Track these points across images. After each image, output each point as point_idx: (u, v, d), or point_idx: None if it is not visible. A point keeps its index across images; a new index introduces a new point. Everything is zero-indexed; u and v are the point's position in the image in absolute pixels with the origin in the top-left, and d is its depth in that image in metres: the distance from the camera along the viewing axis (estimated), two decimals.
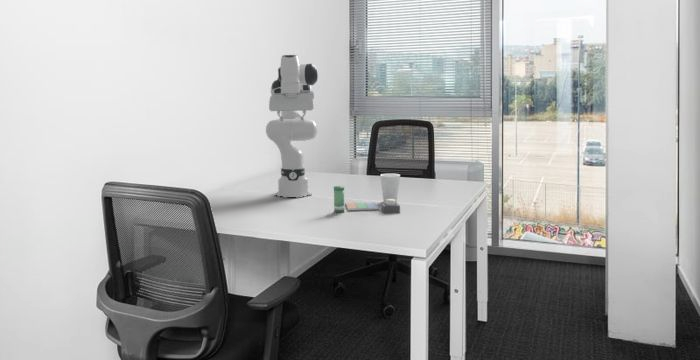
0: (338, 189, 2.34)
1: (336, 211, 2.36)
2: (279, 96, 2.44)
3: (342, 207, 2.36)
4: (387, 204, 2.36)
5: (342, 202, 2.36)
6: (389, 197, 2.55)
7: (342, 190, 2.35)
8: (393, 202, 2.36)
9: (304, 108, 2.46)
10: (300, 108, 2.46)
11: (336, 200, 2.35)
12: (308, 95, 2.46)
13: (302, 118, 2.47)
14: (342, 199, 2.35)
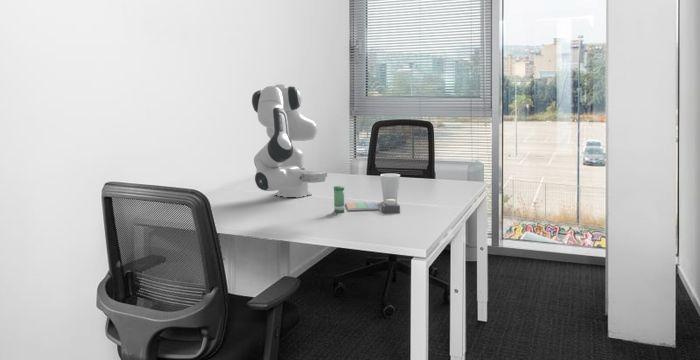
0: (338, 189, 2.34)
1: (336, 211, 2.36)
2: None
3: (342, 207, 2.36)
4: (387, 204, 2.36)
5: (342, 202, 2.36)
6: (389, 197, 2.55)
7: (342, 190, 2.35)
8: (393, 202, 2.36)
9: None
10: None
11: (336, 200, 2.35)
12: (310, 182, 2.13)
13: (324, 177, 2.22)
14: (342, 199, 2.35)
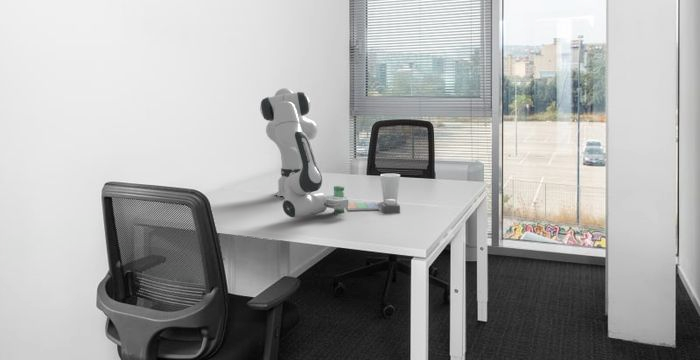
0: (338, 189, 2.34)
1: (336, 211, 2.36)
2: None
3: None
4: (387, 204, 2.36)
5: None
6: (389, 197, 2.55)
7: (342, 190, 2.35)
8: (393, 202, 2.36)
9: None
10: None
11: None
12: (334, 208, 2.24)
13: None
14: None
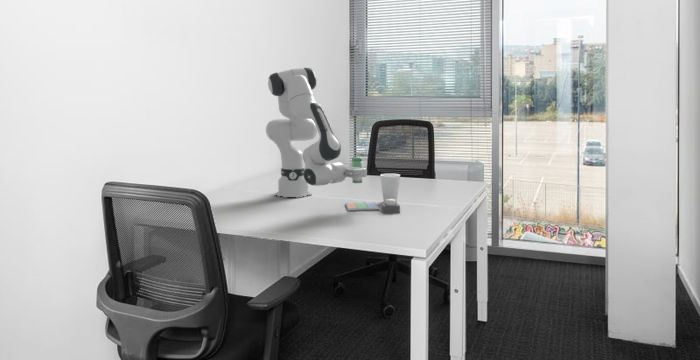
0: (356, 160, 2.40)
1: (354, 181, 2.42)
2: None
3: (360, 177, 2.42)
4: (387, 204, 2.36)
5: None
6: (389, 197, 2.55)
7: (360, 161, 2.41)
8: (393, 202, 2.36)
9: None
10: None
11: None
12: (353, 177, 2.31)
13: None
14: None
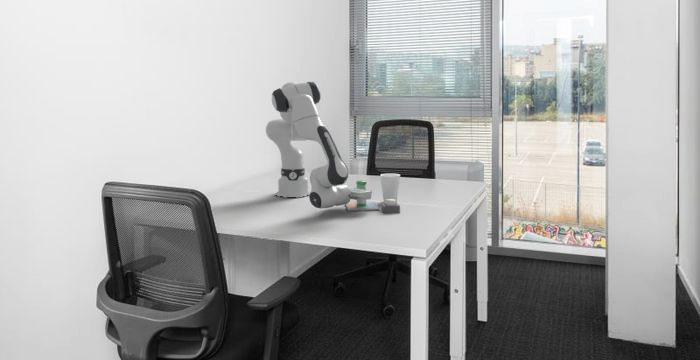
0: (361, 183, 2.44)
1: (358, 204, 2.46)
2: None
3: (364, 201, 2.46)
4: (387, 204, 2.36)
5: None
6: (389, 197, 2.55)
7: (365, 184, 2.45)
8: (393, 202, 2.36)
9: None
10: None
11: None
12: None
13: None
14: None
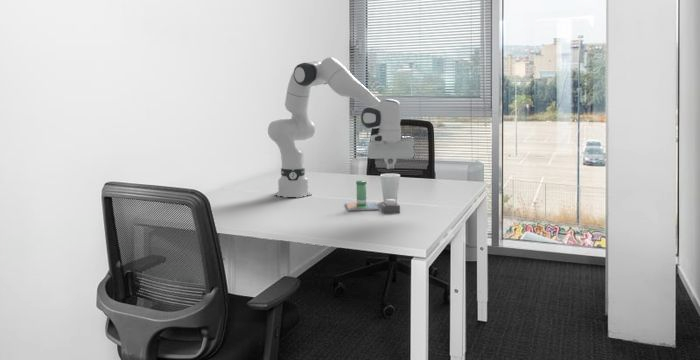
0: (361, 183, 2.44)
1: (358, 204, 2.46)
2: (379, 144, 2.31)
3: (364, 201, 2.46)
4: (387, 204, 2.36)
5: (364, 196, 2.45)
6: (389, 197, 2.55)
7: (365, 184, 2.45)
8: (393, 202, 2.36)
9: (404, 156, 2.34)
10: (400, 156, 2.33)
11: (358, 194, 2.45)
12: (409, 142, 2.33)
13: (392, 166, 2.35)
14: (364, 193, 2.45)
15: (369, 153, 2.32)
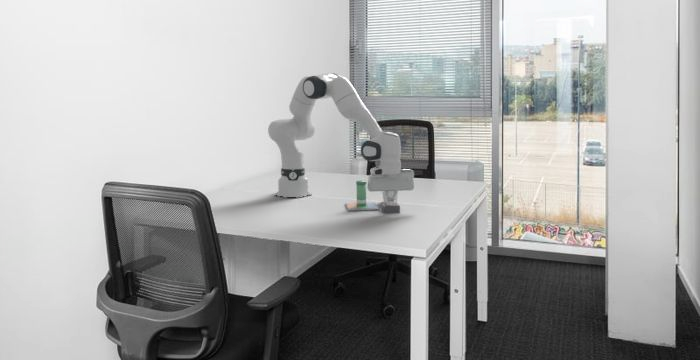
0: (360, 183, 2.44)
1: (358, 204, 2.46)
2: (379, 177, 2.33)
3: (364, 201, 2.46)
4: (387, 205, 2.37)
5: (364, 196, 2.45)
6: None
7: (365, 184, 2.45)
8: (393, 203, 2.36)
9: (404, 188, 2.36)
10: (400, 188, 2.35)
11: (358, 194, 2.45)
12: (409, 175, 2.35)
13: (393, 199, 2.37)
14: (364, 193, 2.45)
15: (369, 186, 2.34)
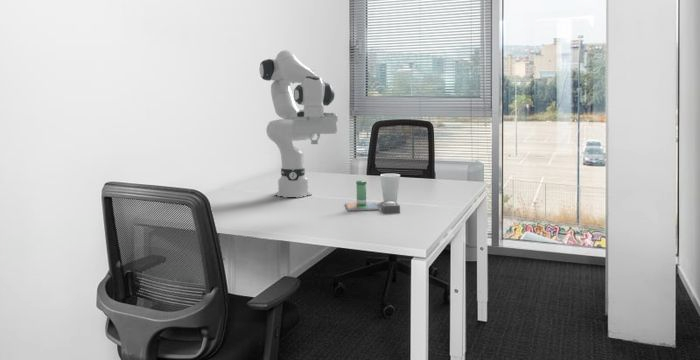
0: (361, 183, 2.44)
1: (358, 204, 2.46)
2: (302, 119, 2.37)
3: (364, 201, 2.46)
4: None
5: (364, 196, 2.45)
6: (389, 197, 2.55)
7: (365, 184, 2.45)
8: None
9: (327, 132, 2.40)
10: (323, 132, 2.40)
11: (358, 194, 2.45)
12: (332, 118, 2.39)
13: (316, 142, 2.41)
14: (364, 193, 2.45)
15: (292, 129, 2.38)
